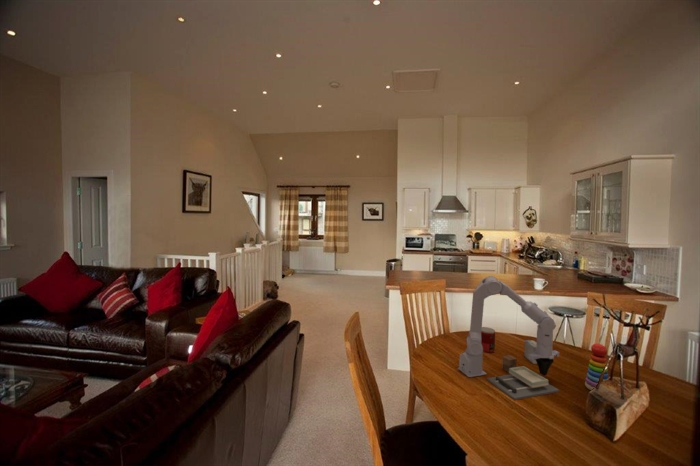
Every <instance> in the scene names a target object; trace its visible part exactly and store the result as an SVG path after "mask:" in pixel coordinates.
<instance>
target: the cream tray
mask: <svg viewBox="0 0 700 466" xmlns="http://www.w3.org/2000/svg"><path fill="white" fill-rule="evenodd" d="M508 374H509V375H510V374H512V375H513V376H514V377H516V378H518V379H519V380H521V381H523V382H524V383H526V384H527V385H528V386H530V387H532V388H534V387H539V386H545V385H548V384H549V379H547V378H545V376H543V375H541V374H540V373H537V372H535V371H533V370H531V369H529V368H528V367H526V366H525V365H523V366H517V367H514V368H509V373H508Z"/></svg>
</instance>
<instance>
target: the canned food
mask: <svg viewBox="0 0 700 466" xmlns="http://www.w3.org/2000/svg"><path fill="white" fill-rule="evenodd" d="M481 344H482V347H483V353H488V354H492V353H494V352H495V349H496V348H495V347H496V330H495V329H494V328H491V327H487V326H482V330H481Z"/></svg>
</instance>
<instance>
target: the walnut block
mask: <svg viewBox="0 0 700 466" xmlns="http://www.w3.org/2000/svg"><path fill="white" fill-rule="evenodd" d="M517 362H518V360H517V358H516V357H514V356H512V355H511V354H509V355H503V356H502V370H503V371H505V372H507V373H508V374H510V373H509V368H514V367H518V366H517V365H518V364H517Z"/></svg>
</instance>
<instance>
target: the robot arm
mask: <svg viewBox="0 0 700 466" xmlns="http://www.w3.org/2000/svg"><path fill="white" fill-rule="evenodd" d="M498 294H500V296H507V297H508V298H509V299H511V301H513V302H514V303H516V304H517V305H519V307H520V308H521V312H522V313H523V314H524V315H525V316H527V317H528V318H529V319H530V320H532V321H533V322H535V323H536V324H537V328H536V329H537V330H536V351H535V352H533V353H531V354H528V359H530V360H532V361H533V360H534V359H535V360H536V362H537V364H536V365H537V366H538V369H539V370H538V371H539V375H541V376H543V377H545V376H547V375H548V372H549V369H550V367H551V366H552V364H553V363H554V362H555V361H554V359H555V357H557V358H559V357H560V351H557V350H553V347H554V346H553V341H554V340H553V339H554V330H555V329H556V326H557V325H556V322H555V320H554V319H553V318H552V317H551V316H550V315H549V314H548V313H547V311H544V310H543V309H541V308H540V307H539V306H538V304H537V303H536V302H533V301H526V300H525V299H524V298H522V296H520V294H518V293H517V292H515V290H514V289H512V288H511V287H510V286H509V285H508V284H506V283H504V282H503V281H501V280H499V279H498V278H497V277H495V276H492V275H491V276H487V277H485V278H483V279H482V280H481V281H480V283H479V284H478V285H477V287H476V288H475V289H474V290H473V293H472V301H471V314H470V315H471V316H470V325H469V330H468V331H469V332H468V335H467V336H466V341H465V342H466V346H467V347H466V348H465V351H463V353H460V354H459V357H458V358H459V361H458V362H459V363H458V365H459V367H457V370H459V371H460V372H461V373H463V374H464V375H465V376H467V377H468V378H472V377H473V378H474V377H480V376H486V375H487V372H485V371H484V370H483V357H484V354H483V353H484V352H483V347H482V344H481V330H482V327H483V317H484V305H485V299H487V298H489V297H490V296H495V295H498ZM528 359H527V360H528Z"/></svg>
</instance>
